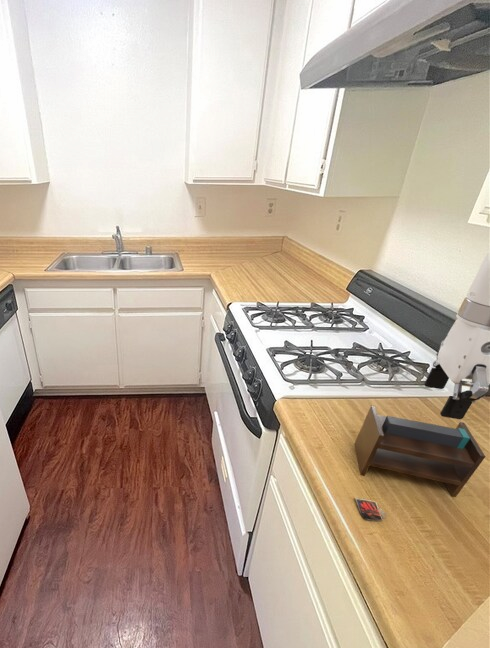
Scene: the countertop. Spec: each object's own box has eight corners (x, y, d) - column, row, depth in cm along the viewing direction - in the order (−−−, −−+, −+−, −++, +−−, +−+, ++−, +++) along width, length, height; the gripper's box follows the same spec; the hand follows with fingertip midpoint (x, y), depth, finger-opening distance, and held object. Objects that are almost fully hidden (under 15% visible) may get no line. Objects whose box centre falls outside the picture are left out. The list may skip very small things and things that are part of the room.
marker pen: (457, 439, 68) (464, 429, 66) (462, 449, 65) (470, 438, 64) (382, 425, 71) (387, 414, 69) (384, 433, 69) (390, 422, 67)
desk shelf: (439, 461, 75) (464, 422, 69) (455, 497, 67) (485, 456, 61) (354, 443, 79) (371, 405, 73) (360, 475, 71) (379, 435, 65)
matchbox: (365, 522, 62) (366, 520, 62) (349, 498, 66) (350, 497, 66) (389, 520, 62) (390, 519, 62) (373, 497, 66) (373, 495, 66)
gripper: (551, 339, 46) (485, 435, 56) (493, 297, 60) (449, 380, 69) (484, 331, 48) (432, 426, 58) (443, 293, 62) (406, 374, 71)
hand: (441, 401), depth 63 cm, fingers open, 9 cm apart
